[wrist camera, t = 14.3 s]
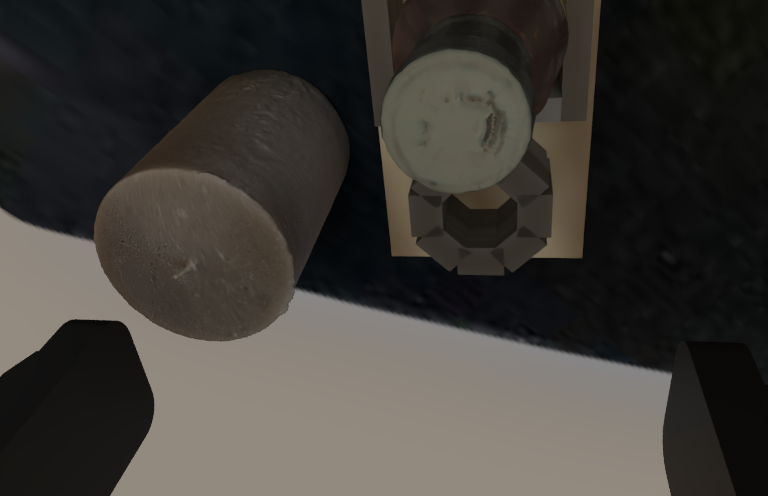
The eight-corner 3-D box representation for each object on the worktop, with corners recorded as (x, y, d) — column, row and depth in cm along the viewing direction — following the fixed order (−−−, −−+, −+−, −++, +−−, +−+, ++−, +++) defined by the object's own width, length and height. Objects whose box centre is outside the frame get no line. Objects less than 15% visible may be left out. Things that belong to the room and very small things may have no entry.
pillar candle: (197, 186, 45) (78, 329, 32) (209, 46, 39) (71, 153, 27) (337, 226, 45) (271, 384, 32) (368, 91, 39) (303, 220, 27)
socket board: (611, -181, 30) (628, -181, 26) (580, 247, 42) (588, 301, 38) (354, -153, 33) (326, -148, 28) (394, 246, 45) (380, 296, 40)
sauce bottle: (586, -30, 33) (659, 120, 16) (504, 70, 36) (494, 280, 19) (481, -117, 31) (443, -51, 15) (406, -5, 35) (305, 151, 18)
